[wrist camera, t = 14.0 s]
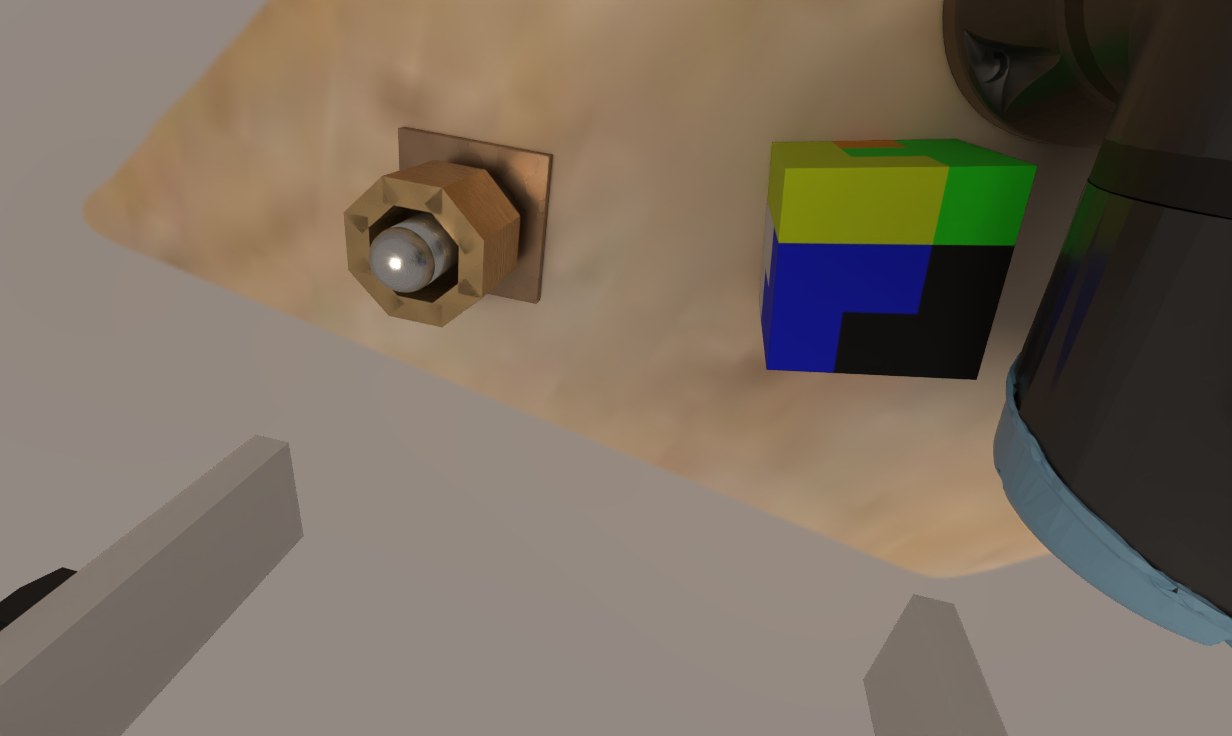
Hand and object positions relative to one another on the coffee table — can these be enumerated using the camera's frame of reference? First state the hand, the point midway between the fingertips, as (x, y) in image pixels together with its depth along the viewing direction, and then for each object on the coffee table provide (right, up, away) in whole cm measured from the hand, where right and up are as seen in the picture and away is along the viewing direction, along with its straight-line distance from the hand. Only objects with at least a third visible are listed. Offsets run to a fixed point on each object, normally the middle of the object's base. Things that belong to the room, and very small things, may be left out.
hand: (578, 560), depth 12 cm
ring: (-9, +13, +25) cm, 30 cm away
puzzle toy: (+15, +13, +24) cm, 31 cm away
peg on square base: (-9, +14, +27) cm, 32 cm away
